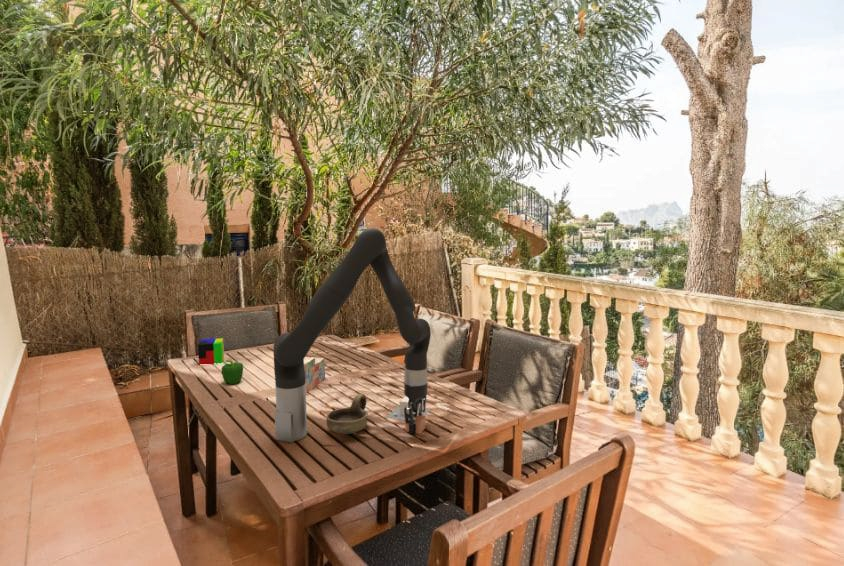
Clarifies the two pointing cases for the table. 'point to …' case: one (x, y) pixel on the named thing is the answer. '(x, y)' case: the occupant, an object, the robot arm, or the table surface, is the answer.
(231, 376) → the bell pepper
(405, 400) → the base cube
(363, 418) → the bowl
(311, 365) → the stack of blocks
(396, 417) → the plate
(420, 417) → the rust cube
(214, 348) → the puzzle toy
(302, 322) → the robot arm
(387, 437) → the table surface
